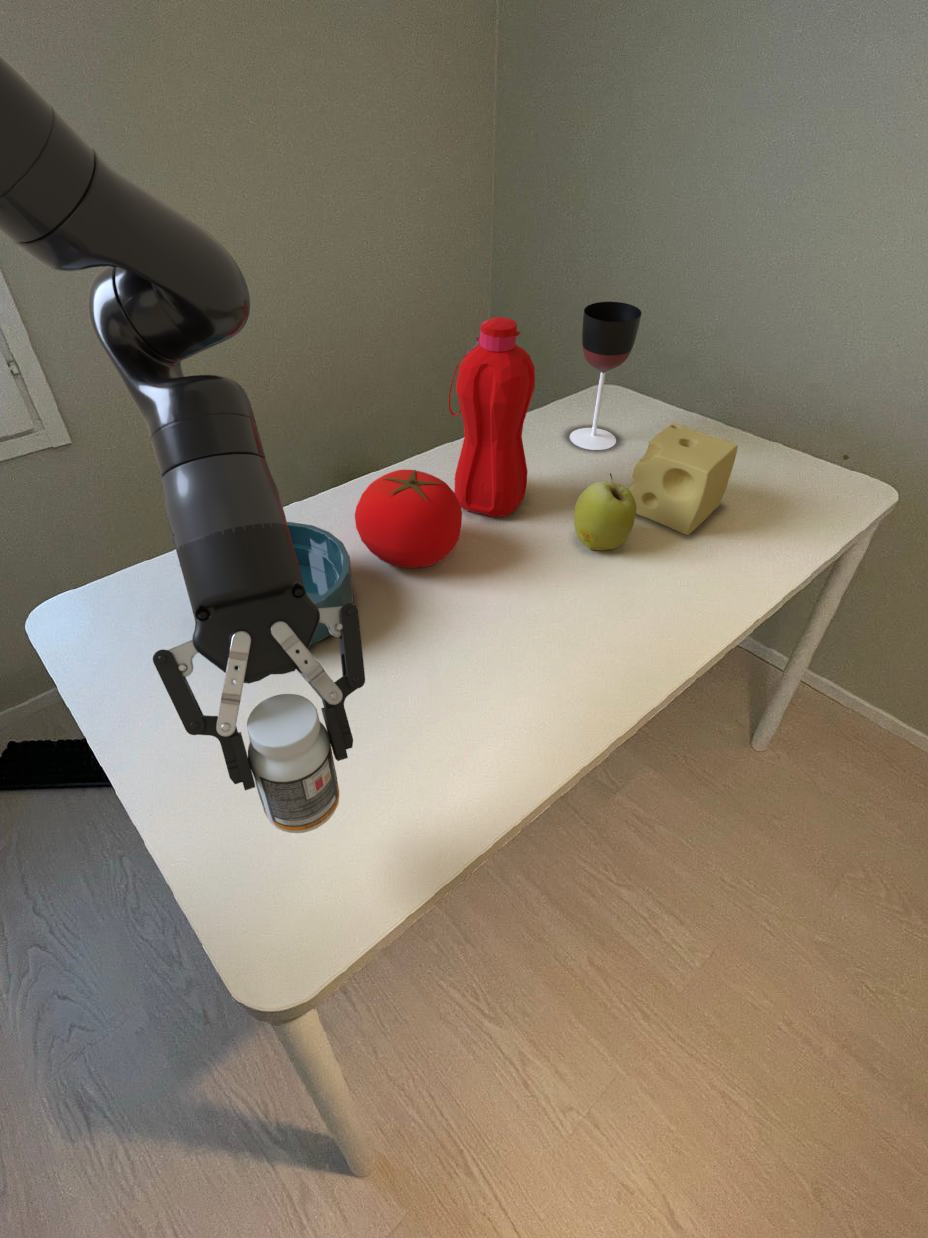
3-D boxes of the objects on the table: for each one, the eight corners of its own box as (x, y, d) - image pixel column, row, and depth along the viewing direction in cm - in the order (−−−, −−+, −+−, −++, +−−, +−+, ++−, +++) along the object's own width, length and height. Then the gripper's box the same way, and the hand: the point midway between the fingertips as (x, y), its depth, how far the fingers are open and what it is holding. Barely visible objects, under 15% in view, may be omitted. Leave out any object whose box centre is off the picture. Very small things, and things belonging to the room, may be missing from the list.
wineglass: (557, 440, 114) (572, 312, 100) (586, 421, 119) (605, 297, 105) (599, 456, 110) (621, 326, 97) (627, 436, 115) (652, 310, 102)
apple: (551, 536, 92) (576, 464, 87) (587, 530, 98) (613, 462, 93) (597, 565, 88) (626, 491, 83) (632, 557, 93) (662, 487, 88)
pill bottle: (355, 794, 54) (344, 709, 48) (305, 850, 51) (285, 768, 44) (299, 760, 56) (281, 675, 50) (247, 812, 53) (220, 728, 46)
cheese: (622, 510, 99) (635, 446, 92) (659, 480, 105) (673, 418, 98) (690, 539, 94) (709, 473, 87) (724, 505, 100) (744, 442, 94)
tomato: (436, 594, 85) (435, 517, 77) (343, 564, 89) (333, 489, 81) (476, 542, 93) (479, 467, 85) (389, 517, 97) (385, 444, 89)
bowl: (214, 678, 74) (201, 636, 70) (191, 581, 86) (179, 540, 82) (373, 634, 79) (369, 594, 75) (331, 549, 91) (326, 509, 87)
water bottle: (460, 476, 105) (463, 301, 88) (530, 491, 102) (547, 313, 85) (436, 507, 99) (434, 325, 82) (510, 525, 96) (524, 340, 79)
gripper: (109, 548, 42) (183, 818, 42) (341, 500, 47) (408, 745, 47) (128, 567, 49) (191, 798, 49) (328, 524, 54) (386, 737, 54)
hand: (296, 771), depth 48 cm, fingers closed on pill bottle, 5 cm apart
